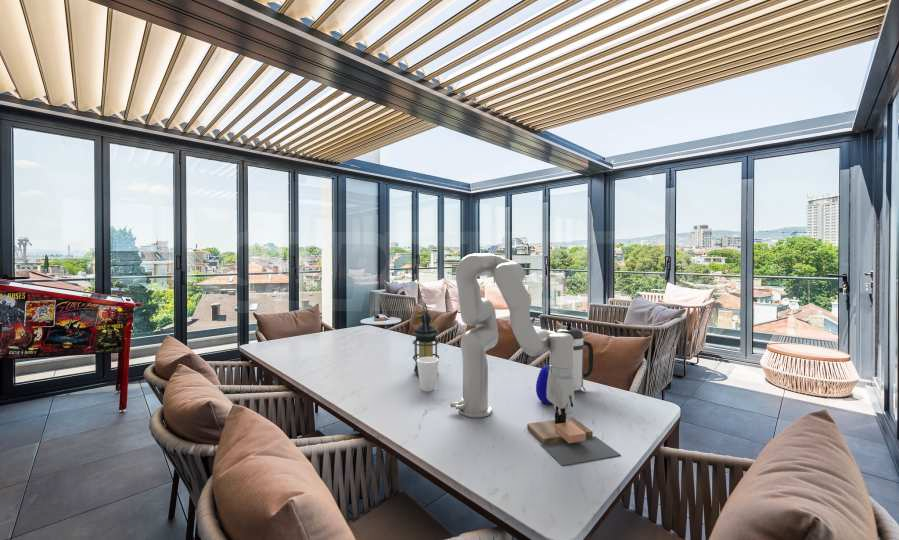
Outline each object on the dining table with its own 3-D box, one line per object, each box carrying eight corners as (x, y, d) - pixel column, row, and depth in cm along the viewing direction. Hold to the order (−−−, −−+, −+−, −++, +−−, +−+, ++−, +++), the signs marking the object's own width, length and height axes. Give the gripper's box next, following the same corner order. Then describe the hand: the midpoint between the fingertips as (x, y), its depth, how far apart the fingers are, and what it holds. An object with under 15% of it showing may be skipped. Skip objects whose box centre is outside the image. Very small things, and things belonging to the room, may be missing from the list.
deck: (543, 445, 122) (543, 438, 122) (527, 429, 132) (527, 423, 132) (592, 437, 127) (592, 431, 127) (572, 422, 138) (572, 417, 137)
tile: (569, 443, 119) (569, 435, 119) (554, 431, 127) (555, 424, 127) (585, 440, 121) (586, 433, 121) (570, 428, 129) (571, 421, 128)
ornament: (560, 408, 150) (560, 370, 149) (535, 406, 152) (536, 369, 151) (558, 398, 161) (558, 362, 160) (535, 396, 162) (536, 361, 162)
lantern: (438, 378, 185) (438, 305, 183) (411, 377, 185) (410, 305, 183) (439, 368, 199) (439, 301, 197) (414, 368, 199) (414, 301, 197)
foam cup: (413, 390, 168) (413, 361, 168) (422, 383, 177) (422, 355, 176) (433, 393, 165) (433, 363, 164) (441, 386, 173) (441, 358, 173)
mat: (562, 466, 110) (562, 465, 110) (540, 445, 122) (541, 444, 122) (620, 455, 116) (620, 454, 116) (595, 436, 127) (595, 436, 127)
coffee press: (583, 399, 159) (585, 327, 157) (545, 391, 167) (546, 323, 166) (592, 386, 174) (594, 320, 172) (557, 380, 182) (558, 317, 180)
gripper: (539, 365, 134) (538, 416, 135) (564, 378, 120) (563, 436, 121) (558, 363, 136) (557, 414, 137) (584, 376, 122) (583, 433, 123)
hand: (560, 424), depth 129 cm, fingers closed
